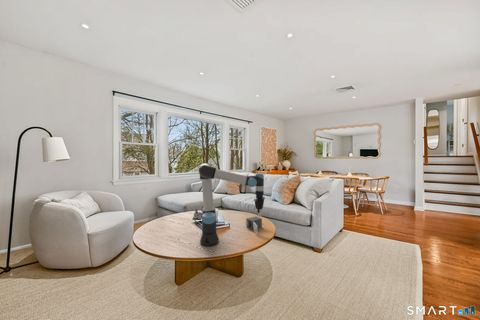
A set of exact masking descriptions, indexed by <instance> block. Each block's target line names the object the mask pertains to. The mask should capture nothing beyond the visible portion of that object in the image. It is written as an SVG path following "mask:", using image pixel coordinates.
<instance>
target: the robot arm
mask: <svg viewBox="0 0 480 320" xmlns="http://www.w3.org/2000/svg"><path fill="white" fill-rule="evenodd" d="M198 174H199V180H200V181H201V186H202V188H201V189H202V201H203V202H202V203H203V204H202V205H204V208H203V209H202V208H201V209H202V211H201V213H202V214H203V215H202V222H201V237H200V239H199V243H200V245H201V246H203V247H213V246H216V245H218V244H219V242H220V241H219V240H220V239H219V236H218V233H217V213H216V212H217V211H216V207H215V205H214V194H213V180H215V179H218V180H221V181H227V182H230V183H234V184H239V185H244V186H246V187H247V186H248V187H250V188H254V187H255V189H254V190H255V191H254V192H255V198H253V201H254V206H255V207H254V208H255V210H257V217H259V218H261V217H262V210H263V208H264V203H265V199H266V198H265V196H264V193H265V192H264V190H265V189H264V187H265V185H264V183H265V176H264V173H255V175H242V174H239V173H234V172H230V171H225V170H222V169H218V168H217V167H216V166H215V167H214V166H212V164H211V163H210V162H205V163H202V164H201V165H200V166H199V167H198Z"/></svg>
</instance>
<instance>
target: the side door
mask: <svg viewBox="0 0 480 320" xmlns="http://www.w3.org/2000/svg"><path fill="white" fill-rule="evenodd" d="M258 230H259V228H258V229H257V225H256V224H255V222H254V221H253V230H252V231H253V232H254V233H255V235H258V233H259V231H258Z"/></svg>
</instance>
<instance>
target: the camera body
mask: <svg viewBox="0 0 480 320" xmlns="http://www.w3.org/2000/svg"><path fill="white" fill-rule="evenodd" d="M262 219H263V218H261V217H259V216H255V215H254V216H251V217H247V218H246V221H245V225H246V229H248V230H251V231H253V221H254V222H255V224H256V225H257V229H258V230H259V229H261V228H262V227H263V225H262V224H263V221H262Z"/></svg>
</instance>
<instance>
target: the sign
mask: <svg viewBox="0 0 480 320" xmlns="http://www.w3.org/2000/svg"><path fill="white" fill-rule="evenodd" d="M202 205H203V206H201V209H200V211H201V212H199V211H198V209H195V211H194V214H193V217H192V221H195V220H201V219H202V215H203V214H202V209H203V208H204V204H202Z"/></svg>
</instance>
